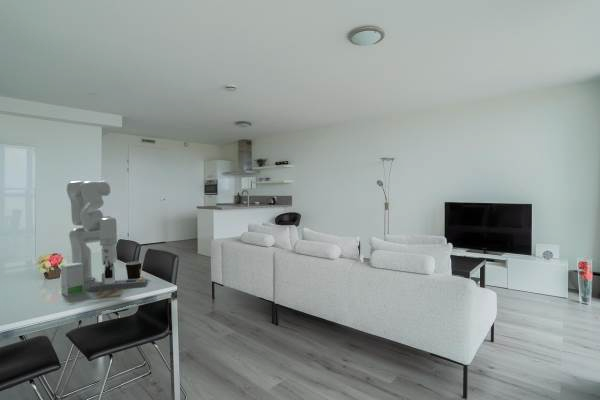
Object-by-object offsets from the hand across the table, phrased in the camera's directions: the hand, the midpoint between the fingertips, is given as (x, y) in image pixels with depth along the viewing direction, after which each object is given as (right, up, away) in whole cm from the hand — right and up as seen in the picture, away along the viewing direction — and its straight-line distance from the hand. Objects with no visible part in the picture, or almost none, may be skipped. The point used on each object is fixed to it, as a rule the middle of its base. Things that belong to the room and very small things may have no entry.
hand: (109, 276), depth 164 cm
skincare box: (-21, -10, +3) cm, 23 cm away
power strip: (-2, -9, +12) cm, 15 cm away
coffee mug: (-2, -9, +29) cm, 31 cm away
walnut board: (0, -9, 0) cm, 9 cm away
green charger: (-8, -9, +10) cm, 15 cm away
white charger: (0, -3, 0) cm, 3 cm away
